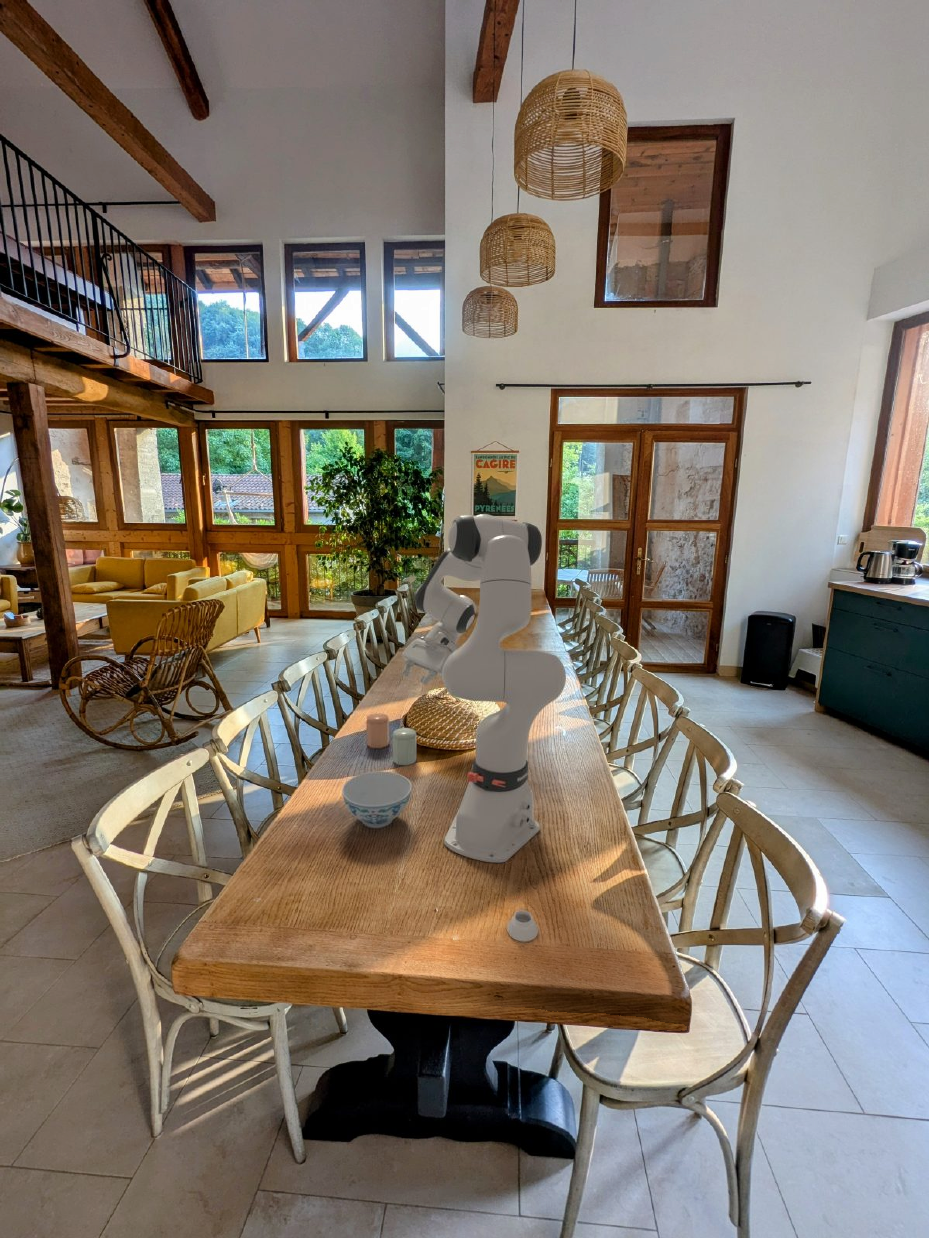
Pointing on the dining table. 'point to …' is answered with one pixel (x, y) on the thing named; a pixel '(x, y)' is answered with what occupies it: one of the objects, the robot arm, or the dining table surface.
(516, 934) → the lidless jar
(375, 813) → the chinaware
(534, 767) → the dining table surface
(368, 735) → the pink clay canister
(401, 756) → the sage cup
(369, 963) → the dining table surface
